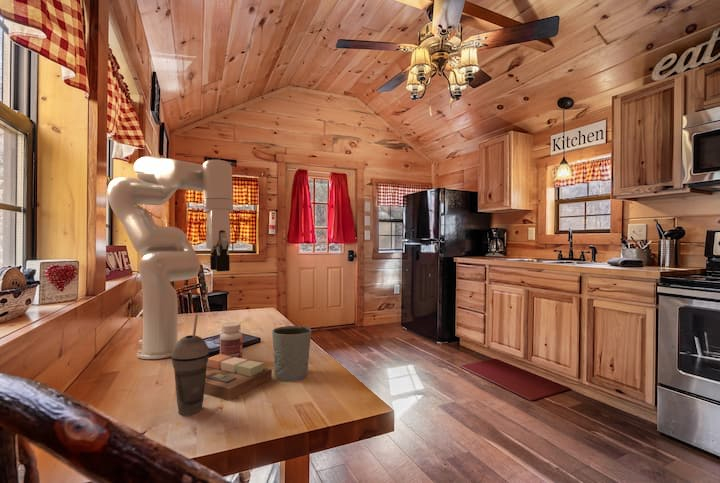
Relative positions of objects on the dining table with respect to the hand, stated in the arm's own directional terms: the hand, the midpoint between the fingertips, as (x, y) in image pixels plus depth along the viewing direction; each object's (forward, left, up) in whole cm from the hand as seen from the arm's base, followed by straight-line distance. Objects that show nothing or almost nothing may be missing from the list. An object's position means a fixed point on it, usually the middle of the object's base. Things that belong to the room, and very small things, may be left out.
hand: (219, 270), depth 101 cm
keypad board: (+7, -5, -27) cm, 29 cm away
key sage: (+13, -2, -25) cm, 28 cm away
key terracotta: (+2, -2, -25) cm, 25 cm away
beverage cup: (+13, -19, -28) cm, 36 cm away
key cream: (+7, -2, -25) cm, 26 cm away
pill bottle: (-2, +6, -28) cm, 28 cm away
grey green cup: (+19, +7, -28) cm, 34 cm away
